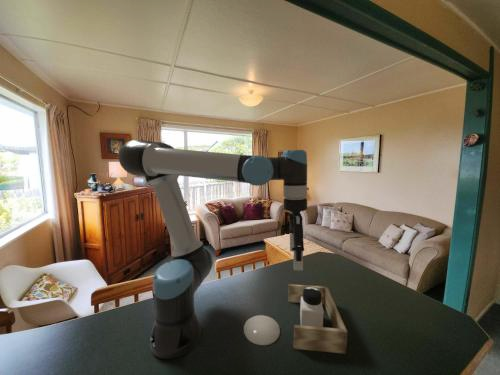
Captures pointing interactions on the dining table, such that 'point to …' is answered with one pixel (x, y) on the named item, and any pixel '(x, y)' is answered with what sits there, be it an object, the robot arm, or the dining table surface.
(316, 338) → the cubby
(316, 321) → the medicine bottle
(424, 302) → the dining table surface
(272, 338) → the saucer
